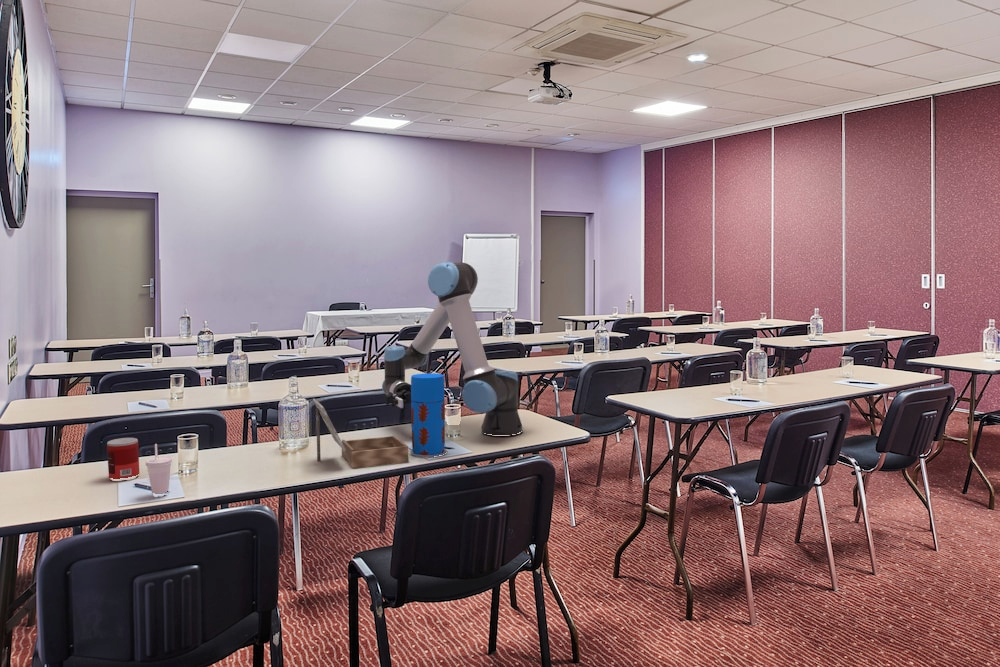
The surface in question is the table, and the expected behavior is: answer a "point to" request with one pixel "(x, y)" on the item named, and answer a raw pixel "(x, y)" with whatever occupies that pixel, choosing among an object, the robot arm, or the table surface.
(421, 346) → the robot arm
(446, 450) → the disc
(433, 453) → the thermos
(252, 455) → the table surface
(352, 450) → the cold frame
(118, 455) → the canned food
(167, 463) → the smoothie
